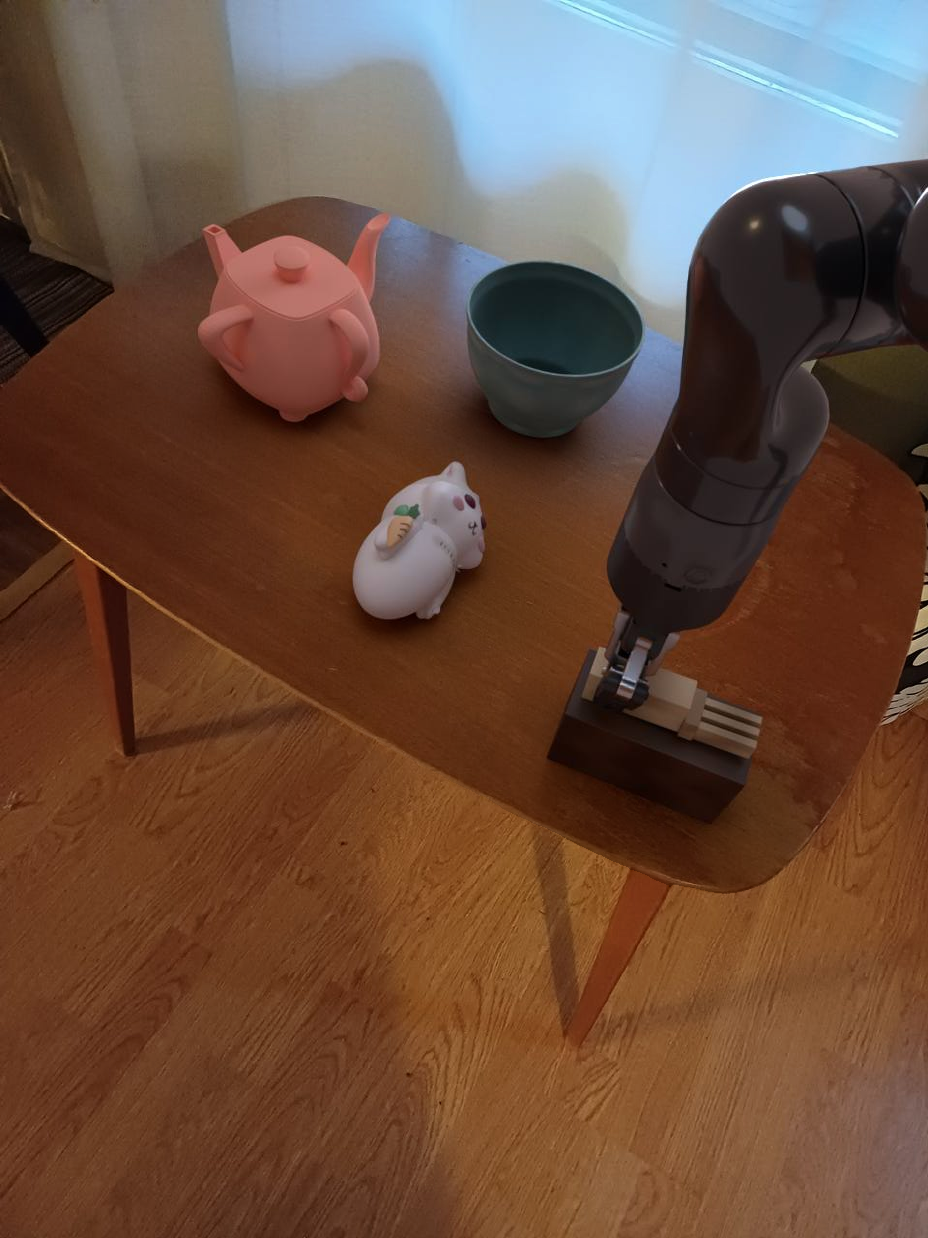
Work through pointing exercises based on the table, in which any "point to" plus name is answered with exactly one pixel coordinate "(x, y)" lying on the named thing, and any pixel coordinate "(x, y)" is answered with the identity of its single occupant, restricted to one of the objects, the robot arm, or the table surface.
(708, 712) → the fork
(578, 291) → the flower pot
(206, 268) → the table surface
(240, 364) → the teapot
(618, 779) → the stand
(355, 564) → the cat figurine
